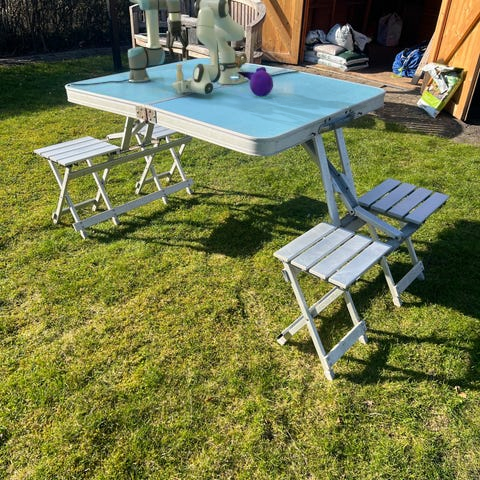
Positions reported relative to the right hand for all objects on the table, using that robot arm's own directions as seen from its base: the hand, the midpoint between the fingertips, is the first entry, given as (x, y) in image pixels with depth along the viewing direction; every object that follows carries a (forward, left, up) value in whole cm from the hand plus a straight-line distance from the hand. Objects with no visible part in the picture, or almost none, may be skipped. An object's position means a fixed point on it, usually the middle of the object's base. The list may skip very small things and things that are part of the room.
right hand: (179, 82), depth 299 cm
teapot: (-82, -30, -7) cm, 87 cm away
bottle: (0, +1, -7) cm, 7 cm away
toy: (-29, +43, -7) cm, 53 cm away
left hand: (0, +1, +15) cm, 15 cm away
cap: (0, +1, +11) cm, 11 cm away
